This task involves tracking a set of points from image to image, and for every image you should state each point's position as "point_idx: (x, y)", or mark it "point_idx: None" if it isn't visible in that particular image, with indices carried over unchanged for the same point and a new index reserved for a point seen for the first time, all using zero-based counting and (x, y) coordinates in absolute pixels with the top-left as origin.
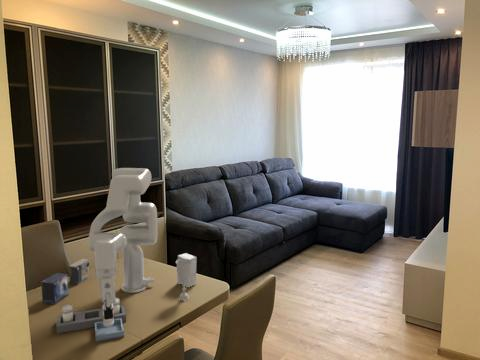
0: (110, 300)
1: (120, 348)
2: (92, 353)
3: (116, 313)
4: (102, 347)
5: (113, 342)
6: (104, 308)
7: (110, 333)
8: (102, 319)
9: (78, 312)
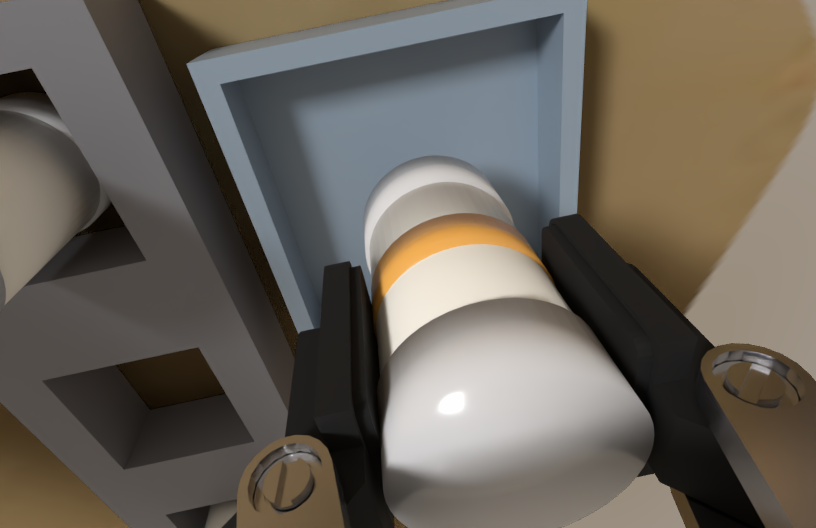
0: (342, 513)
1: (768, 5)
2: (700, 253)
3: (57, 163)
4: (654, 194)
5: (615, 102)
6: (680, 494)
7: (578, 163)
8: (239, 302)
9: (121, 507)
